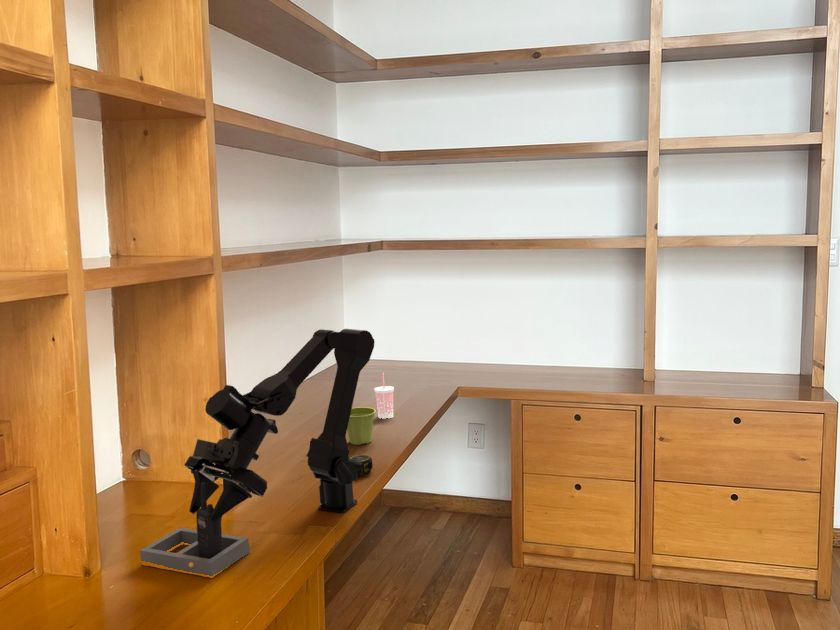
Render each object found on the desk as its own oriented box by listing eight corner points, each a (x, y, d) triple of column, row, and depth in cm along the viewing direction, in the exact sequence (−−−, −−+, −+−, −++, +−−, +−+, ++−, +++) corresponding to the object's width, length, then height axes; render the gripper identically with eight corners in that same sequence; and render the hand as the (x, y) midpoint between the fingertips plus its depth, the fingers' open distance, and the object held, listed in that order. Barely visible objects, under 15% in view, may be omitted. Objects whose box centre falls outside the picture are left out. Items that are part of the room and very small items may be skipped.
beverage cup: (396, 413, 243) (394, 369, 242) (394, 419, 237) (391, 374, 236) (377, 414, 244) (374, 370, 242) (374, 419, 238) (371, 374, 236)
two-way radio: (195, 559, 146) (191, 481, 145) (216, 551, 150) (213, 476, 148) (210, 568, 143) (206, 489, 141) (231, 560, 146) (228, 483, 144)
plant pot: (382, 437, 219) (380, 407, 218) (371, 447, 210) (369, 416, 209) (351, 436, 222) (349, 406, 221) (338, 446, 213) (336, 415, 212)
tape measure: (339, 474, 191) (338, 459, 191) (358, 466, 196) (357, 451, 196) (359, 479, 187) (358, 464, 186) (378, 471, 192) (377, 456, 191)
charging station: (249, 553, 149) (248, 538, 149) (210, 580, 139) (208, 564, 138) (181, 541, 156) (180, 527, 156) (139, 566, 146) (137, 551, 145)
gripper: (188, 414, 151) (142, 487, 144) (248, 427, 139) (202, 507, 133) (225, 442, 158) (183, 513, 152) (286, 457, 147) (244, 534, 140)
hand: (201, 516), depth 144 cm, fingers open, 6 cm apart
